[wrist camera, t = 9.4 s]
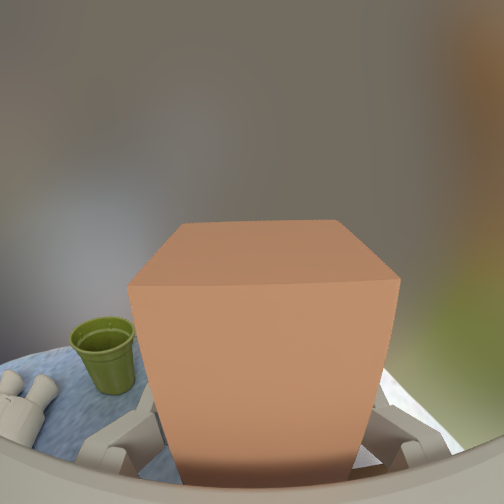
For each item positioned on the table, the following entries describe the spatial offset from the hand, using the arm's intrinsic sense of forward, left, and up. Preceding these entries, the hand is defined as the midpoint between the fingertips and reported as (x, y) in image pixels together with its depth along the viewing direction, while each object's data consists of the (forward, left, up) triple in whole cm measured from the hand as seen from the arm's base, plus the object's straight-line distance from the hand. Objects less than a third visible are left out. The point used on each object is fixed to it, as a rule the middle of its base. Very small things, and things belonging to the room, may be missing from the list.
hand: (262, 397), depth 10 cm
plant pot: (+30, +9, -22) cm, 39 cm away
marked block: (-1, 0, -8) cm, 8 cm away
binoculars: (+22, +24, -22) cm, 40 cm away
